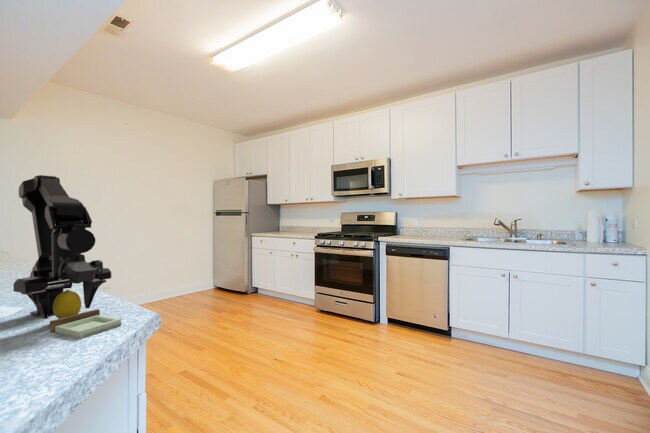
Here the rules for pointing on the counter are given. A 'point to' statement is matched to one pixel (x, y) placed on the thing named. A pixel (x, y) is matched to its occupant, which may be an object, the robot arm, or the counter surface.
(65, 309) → the lemon
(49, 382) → the counter surface
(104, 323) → the dish
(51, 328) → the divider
